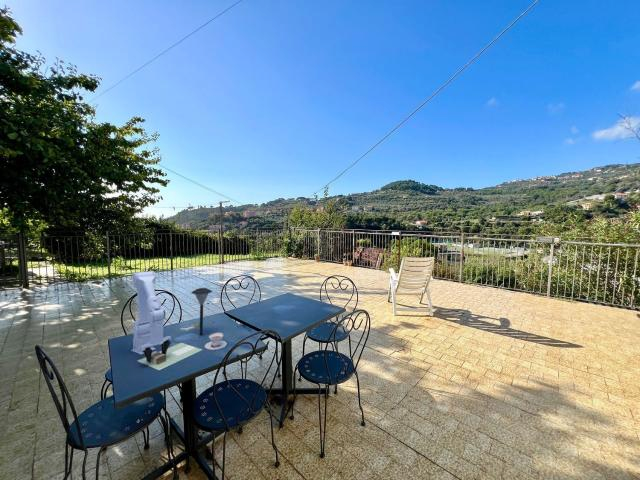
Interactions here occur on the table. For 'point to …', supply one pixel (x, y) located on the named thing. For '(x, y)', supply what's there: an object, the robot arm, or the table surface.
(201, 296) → the solar garden light
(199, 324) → the smartphone
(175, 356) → the mat
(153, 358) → the brown-topped white block
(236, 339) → the table surface
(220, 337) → the teacup
